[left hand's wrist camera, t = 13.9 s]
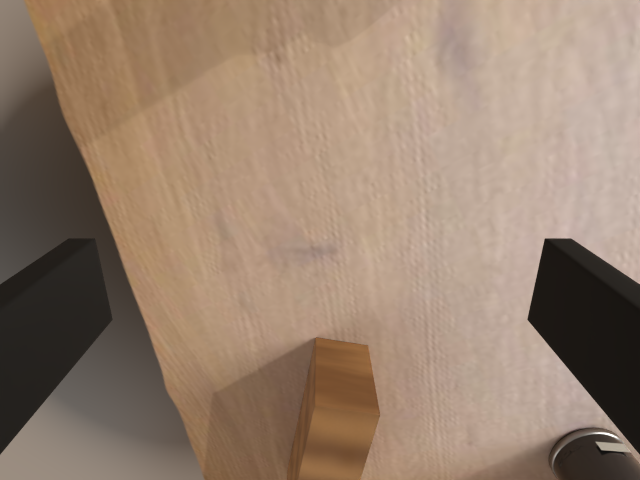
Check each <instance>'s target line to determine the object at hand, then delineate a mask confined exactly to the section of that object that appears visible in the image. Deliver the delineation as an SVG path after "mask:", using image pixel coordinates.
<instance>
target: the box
mask: <svg viewBox="0 0 640 480" xmlns="http://www.w3.org/2000/svg"><path fill="white" fill-rule="evenodd" d="M379 417H380V412H379V406H378V400H377V395H376V389H375V383H374V377H373V372H372V366H371V360H370V355H369V349H368V345H361V344H355V343H348V342H342V341H335V340H329V339H322V338H316V339H315V344H314V348H313V353H312V358H311V362H310V367H309V372H308V377H307V381H306V386H305V391H304V395H303V400H302V405H301V409H300V414H299V419H298V424H297V428H296V433H295V438H294V442H293V447H292V452H291V456H290V461H289V466H288V473H287V480H360V479H361V475H362V472H363V469H364V466H365V462H366V459H367V456H368V453H369V449H370V446H371V443H372V439H373V436H374V433H375V430H376V426H377V423H378V420H379Z"/></svg>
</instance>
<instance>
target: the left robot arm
mask: <svg viewBox="0 0 640 480" xmlns="http://www.w3.org/2000/svg"><path fill="white" fill-rule="evenodd" d="M111 321H112V315H111V310H110V306H109V301H108V297H107V292H106V287H105V282H104V278H103V273H102V269H101V264H100V259H99V254H98V250H97V245H96V241H95V239H67V240H66V241H65V242H63V243H62V244H60V245H59V246H57V247H56V248H54V249H53V250H51V251H50V252H48V253H47V254H45V255H44V256H42V257H41V258H39V259H38V260H36V261H35V262H33V263H32V264H30V265H29V266H27V267H26V268H24V269H23V270H21V271H20V272H18V273H17V274H15V275H14V276H12V277H11V278H9V279H8V280H6V281H5V282H3V283H2V284H0V454H1V453H2V452H3V450H4V449H5V448H6V447H7V446H8V444H9V443H10V442H11V441H12V440H13V438H14V437H15V436H16V435H17V434H18V432H19V431H20V430H21V429H22V428H23V426H24V425H25V424H26V423H27V422H28V420H29V419H30V418H31V417H32V416H33V414H34V413H35V412H36V411H37V410H38V408H39V407H40V406H41V405H42V404H43V402H44V401H45V400H46V399H47V398H48V396H49V395H50V394H51V393H52V392H53V390H54V389H55V388H56V387H57V386H58V384H59V383H60V382H61V381H62V380H63V378H64V377H65V376H66V375H67V374H68V372H69V371H70V370H71V369H72V368H73V366H74V365H75V364H76V363H77V362H78V360H79V359H80V358H81V357H82V356H83V354H84V353H85V352H86V351H87V350H88V348H89V347H90V346H91V345H92V344H93V342H94V341H95V340H96V339H97V338H98V336H99V335H100V334H101V333H102V332H103V330H104V329H105V328H106V327H107V326H108V324H109V323H110V322H111ZM528 321H529V322H530V323H531V324H532V326H533V327H534V328H535V329H536V330H537V332H538V333H539V334H540V335H541V336H542V338H543V339H544V340H545V341H546V342H547V344H548V345H549V346H550V347H551V348H552V350H553V351H554V352H555V353H556V354H557V356H558V357H559V358H560V359H561V360H562V362H563V363H564V364H565V365H566V366H567V368H568V369H569V370H570V371H571V372H572V374H573V375H574V376H575V377H576V378H577V380H578V381H579V382H580V383H581V384H582V386H583V387H584V388H585V389H586V390H587V392H588V393H589V394H590V395H591V396H592V398H593V399H594V400H595V401H596V402H597V404H598V405H599V406H600V407H601V408H602V410H603V411H604V412H605V413H606V414H607V416H608V417H609V418H610V419H611V420H612V422H613V423H614V424H615V425H616V426H617V428H618V429H619V430H620V431H621V432H622V434H623V435H624V436H625V437H626V438H627V440H628V441H629V442H630V443H631V444H632V446H633V447H634V448H635V449H636V450H637V452H638V453H639V454H640V284H638V283H637V282H635V281H634V280H632V279H631V278H629V277H628V276H626V275H625V274H623V273H622V272H620V271H619V270H617V269H616V268H614V267H613V266H611V265H610V264H608V263H607V262H605V261H604V260H602V259H601V258H599V257H598V256H596V255H595V254H593V253H592V252H590V251H589V250H587V249H586V248H584V247H583V246H581V245H580V244H578V243H577V242H575V241H574V240H573V239H545V241H544V245H543V250H542V254H541V259H540V264H539V268H538V273H537V278H536V282H535V287H534V292H533V296H532V301H531V306H530V310H529V315H528Z"/></svg>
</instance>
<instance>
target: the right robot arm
mask: <svg viewBox="0 0 640 480" xmlns="http://www.w3.org/2000/svg"><path fill="white" fill-rule="evenodd" d="M630 452H631V451H630V450H629V449H628V448H627V446H626V445H625V444H624V443H623V441H622V440H621V439H620V438H619V437H618V436H617V435H616V434H615V433H613V432H611V431H609V430H606V429H602V428H587V429H582V430H578V431H576V432H573V433H571V434H569V435H567V436H565V437H564V438H563V439H561V440H560V441H559V442H558V443H557V444H556V445H555V446H554V448H553V449H552V451H551V453H550V457H549V464H550V467H551V469H552V471H553V473H554V474H555V476H556V477H557V478H558V480H640V464H639V462H638V461H637V460H636V459H635V458H634V456H633V455H632V454H631V453H630Z"/></svg>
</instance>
